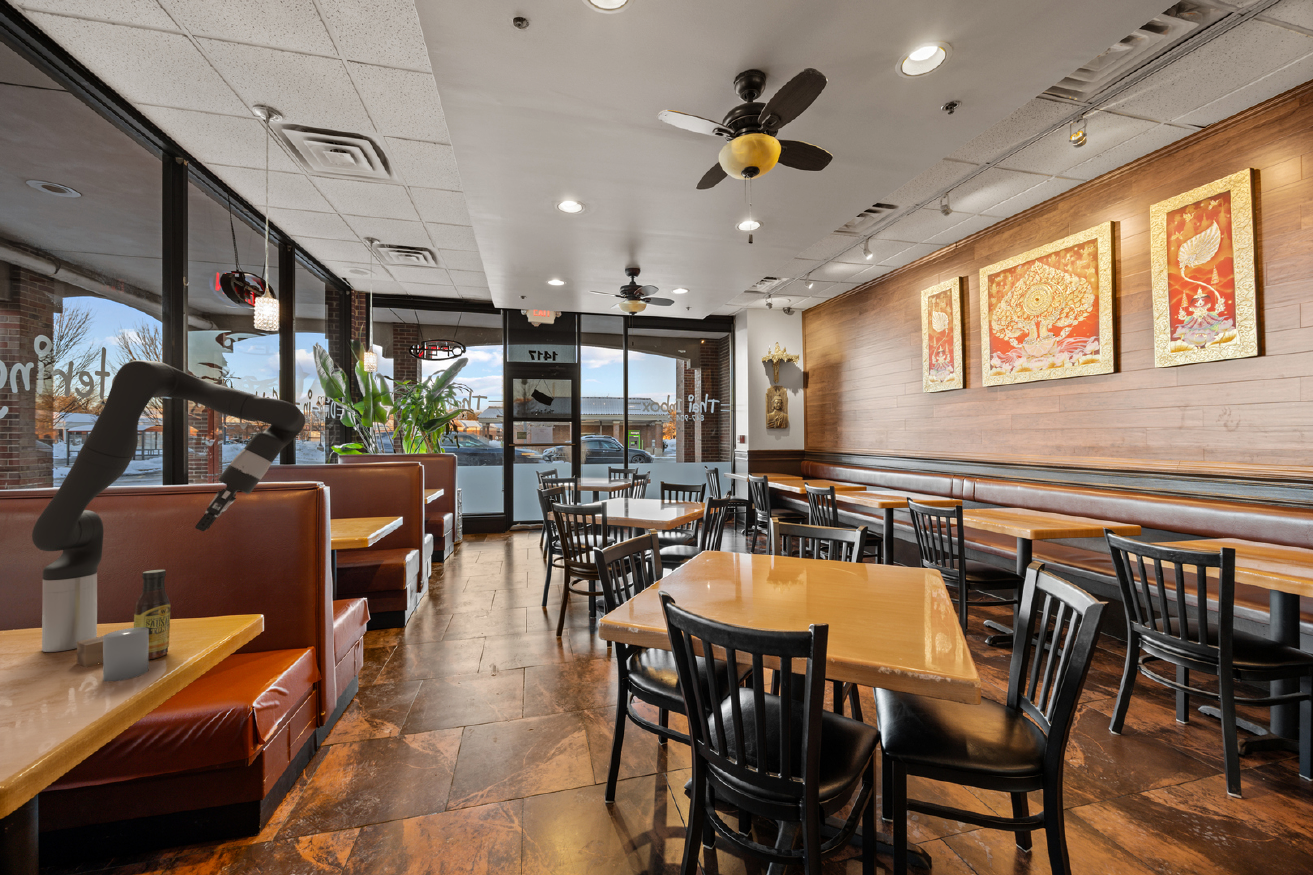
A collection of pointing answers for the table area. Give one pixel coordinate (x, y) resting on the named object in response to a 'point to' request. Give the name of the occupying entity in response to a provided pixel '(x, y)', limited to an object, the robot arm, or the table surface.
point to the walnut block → (90, 651)
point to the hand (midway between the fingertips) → (200, 528)
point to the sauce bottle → (154, 612)
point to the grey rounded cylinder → (125, 654)
